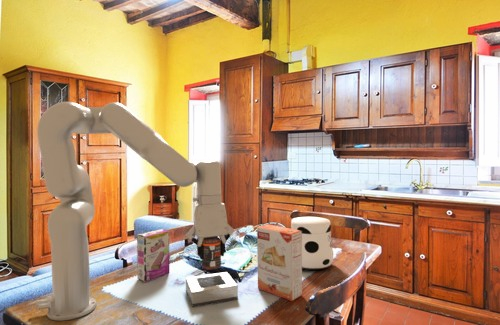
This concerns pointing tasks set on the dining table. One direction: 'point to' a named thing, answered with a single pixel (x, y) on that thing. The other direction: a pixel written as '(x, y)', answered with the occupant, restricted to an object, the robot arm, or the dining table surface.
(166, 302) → the dining table surface
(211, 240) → the supplement bottle
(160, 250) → the candy bar box
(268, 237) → the cracker box
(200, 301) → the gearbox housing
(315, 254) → the milk container
